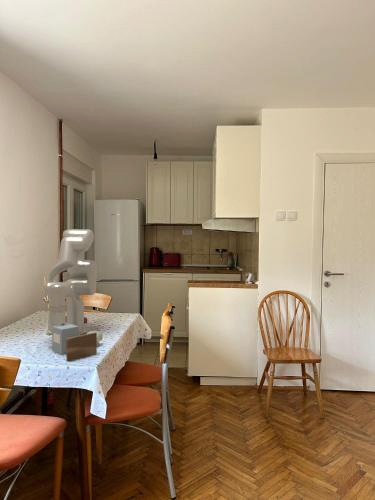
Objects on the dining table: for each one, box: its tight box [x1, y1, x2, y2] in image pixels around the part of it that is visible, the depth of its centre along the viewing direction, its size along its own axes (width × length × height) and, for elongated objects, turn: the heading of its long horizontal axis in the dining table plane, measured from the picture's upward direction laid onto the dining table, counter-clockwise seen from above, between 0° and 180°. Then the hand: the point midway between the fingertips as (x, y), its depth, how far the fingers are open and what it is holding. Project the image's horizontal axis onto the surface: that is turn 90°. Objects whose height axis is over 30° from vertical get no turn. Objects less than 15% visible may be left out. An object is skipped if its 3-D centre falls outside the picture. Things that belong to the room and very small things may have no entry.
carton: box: [65, 315, 88, 325], centre depth 240 cm, size 8×16×4 cm, turn 49°
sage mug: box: [86, 330, 103, 348], centre depth 186 cm, size 6×8×7 cm
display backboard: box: [65, 332, 98, 362], centre depth 167 cm, size 2×15×10 cm, turn 138°
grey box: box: [51, 323, 80, 356], centre depth 177 cm, size 9×9×12 cm
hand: (57, 345), depth 182 cm, fingers closed
